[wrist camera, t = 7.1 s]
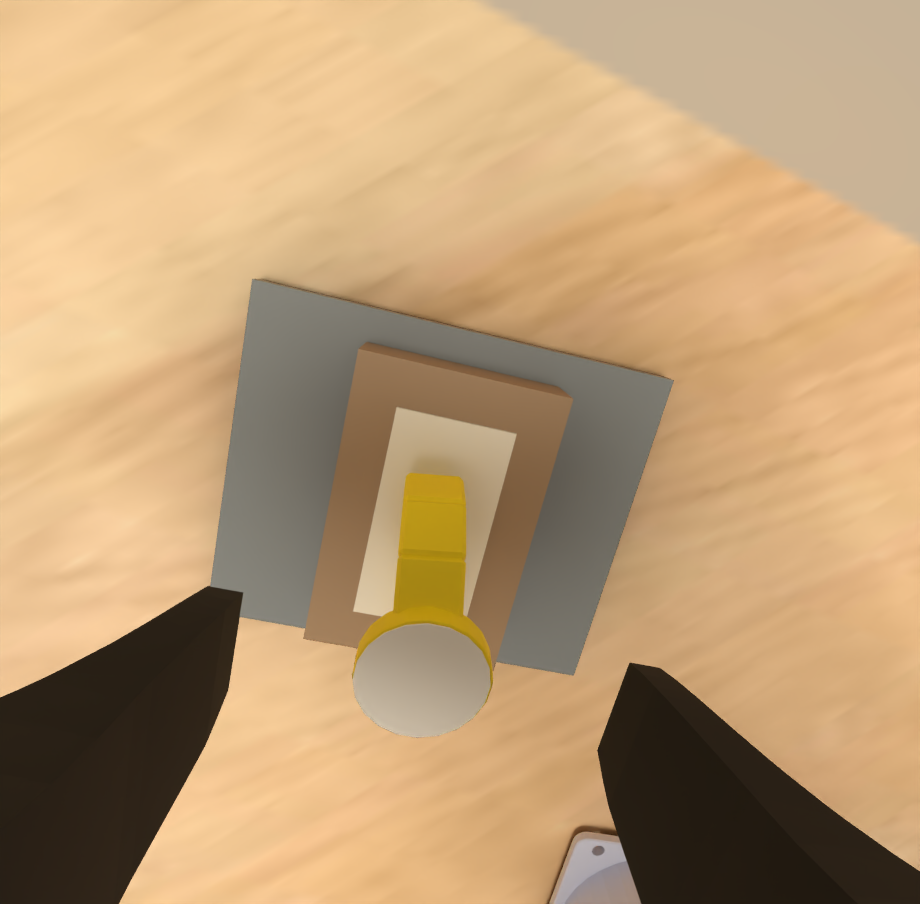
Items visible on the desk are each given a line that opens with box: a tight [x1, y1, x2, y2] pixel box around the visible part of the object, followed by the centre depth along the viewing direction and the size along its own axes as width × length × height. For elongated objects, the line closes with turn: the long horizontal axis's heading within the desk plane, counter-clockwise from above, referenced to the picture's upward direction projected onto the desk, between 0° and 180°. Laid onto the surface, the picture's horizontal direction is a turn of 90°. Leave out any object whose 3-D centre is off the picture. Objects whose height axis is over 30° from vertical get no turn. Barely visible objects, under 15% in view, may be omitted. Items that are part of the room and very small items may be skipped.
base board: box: [210, 279, 674, 675], centre depth 18 cm, size 13×11×3 cm
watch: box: [352, 473, 493, 738], centre depth 14 cm, size 6×3×6 cm, turn 174°
